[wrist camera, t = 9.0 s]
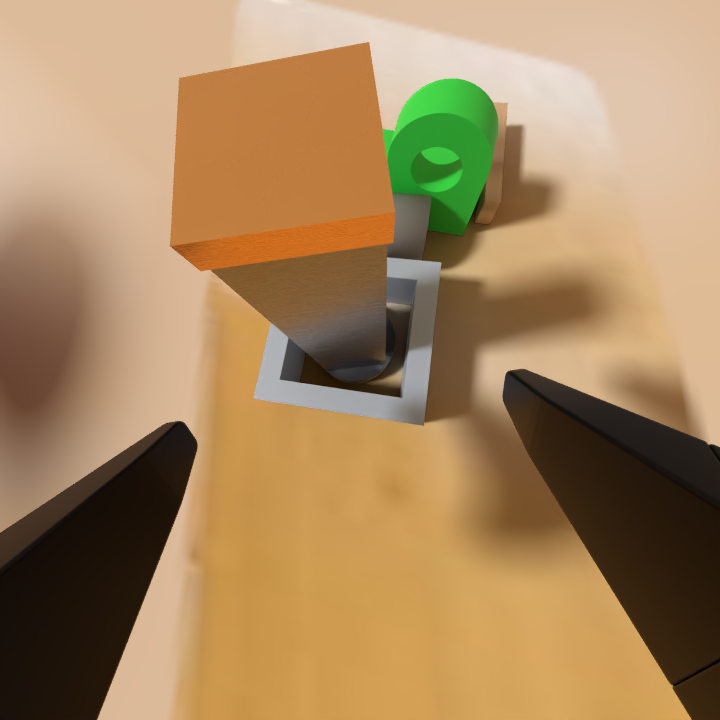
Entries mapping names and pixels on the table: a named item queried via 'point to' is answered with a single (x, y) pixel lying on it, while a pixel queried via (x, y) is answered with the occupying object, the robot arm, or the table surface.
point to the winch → (404, 286)
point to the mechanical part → (444, 150)
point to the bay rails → (493, 173)
